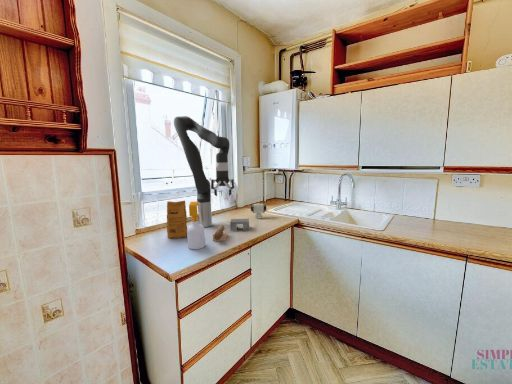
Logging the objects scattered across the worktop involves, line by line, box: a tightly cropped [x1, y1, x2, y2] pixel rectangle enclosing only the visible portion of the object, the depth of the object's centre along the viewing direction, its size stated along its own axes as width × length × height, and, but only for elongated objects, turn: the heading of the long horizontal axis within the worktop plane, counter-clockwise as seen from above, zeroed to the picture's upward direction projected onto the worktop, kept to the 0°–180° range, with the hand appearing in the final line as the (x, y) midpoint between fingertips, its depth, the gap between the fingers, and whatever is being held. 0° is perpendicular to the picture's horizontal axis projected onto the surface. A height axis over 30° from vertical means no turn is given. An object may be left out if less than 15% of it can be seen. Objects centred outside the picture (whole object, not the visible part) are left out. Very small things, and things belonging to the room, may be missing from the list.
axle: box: [214, 224, 225, 240], centre depth 136 cm, size 16×4×4 cm, turn 1°
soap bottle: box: [186, 201, 206, 250], centre depth 124 cm, size 9×9×25 cm
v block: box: [212, 229, 227, 242], centre depth 137 cm, size 7×7×4 cm
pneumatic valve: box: [250, 202, 267, 220], centre depth 179 cm, size 6×12×12 cm, turn 91°
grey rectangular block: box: [229, 218, 250, 232], centre depth 154 cm, size 7×12×6 cm, turn 91°
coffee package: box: [166, 200, 188, 239], centre depth 142 cm, size 10×12×22 cm
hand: (223, 195), depth 146 cm, fingers open, 8 cm apart
